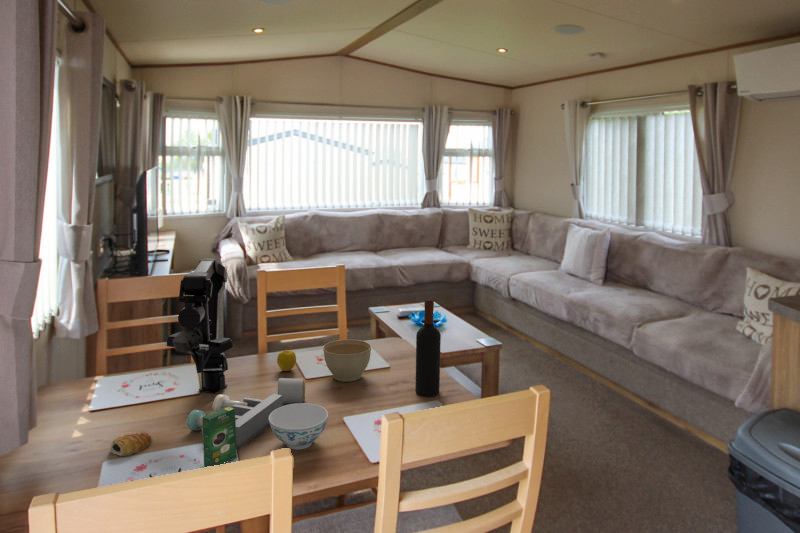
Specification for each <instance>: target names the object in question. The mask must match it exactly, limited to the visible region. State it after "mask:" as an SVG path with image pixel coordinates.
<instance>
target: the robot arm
mask: <svg viewBox="0 0 800 533" xmlns="http://www.w3.org/2000/svg"><path fill="white" fill-rule="evenodd" d="M227 282H228V272H227V269H226V267H225V266H224V265H222V264H221V263H220V262H218V260H217V259H216V258H201V259H199V262H198V265H197V266H196V268H195V270H194V271H193V272H190V273H187V274H184V276H183V277H182V279H180V287H179V294H178V303H184V307H183V308H182V309H181V310H180V312H178V317H177V321H178V323H179V325H180V327H183V331H177V332H175V333H173V334H171V335H168V336H167V338H166V342H165V343H166V347H169V348H175V349H174V350H175V351H177V352H181V351H182V352H185V353H188V354H189V355H190V356H191V358H192V359H193V362H194V364H195V368H196V373H197V374H200V376H201V380H200V381H201V387H200V388H198V391H199V390H200V391H199V392H205V393H210V394H211V393H212V394H216V393H218V392H220V391H222V390H223V389H225V388H227V387H228V384H227V383H226V375H225V372H226V371H228V370H229V363H228V358H227V357H226V354H225V352H227V351H228V350H230V349H232V348H233V346H234V345H233V340H232V339H231V338H229V337H220V336H219V332H220V329H219V328H220V327H219V326H220V324H219V323H220V299H221V295H222V293H223V292H224V291H225V289H226V283H227Z"/></svg>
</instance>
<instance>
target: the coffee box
mask: <svg viewBox="0 0 800 533" xmlns="http://www.w3.org/2000/svg"><path fill="white" fill-rule="evenodd" d="M205 415H206V416H203V417H202V422H203V427H202V443H203V444H202V445H203V448H202V449H203V468H204V467H207V466H214V465H220V464H223V465H225V464H227V463H228V462H231V461H232V460H234V459H235V458H237V457H238V456H237V455H238V454H237V449H236V421H235V408H232V407H229V406H227V407H225V408H222V409H220V410H218V411H215V412H214V411H213V412H211V413H208V414H205ZM227 461H228V462H227ZM224 462H225V464H224Z"/></svg>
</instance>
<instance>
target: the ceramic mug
mask: <svg viewBox="0 0 800 533" xmlns="http://www.w3.org/2000/svg"><path fill="white" fill-rule="evenodd" d="M277 381H278V382H277V395H282V405H289V404H296V403H305V400H306V381H305V379H303V378H288V377H287V378H286V377H285V378H284V377H280V378H278V380H277Z"/></svg>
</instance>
